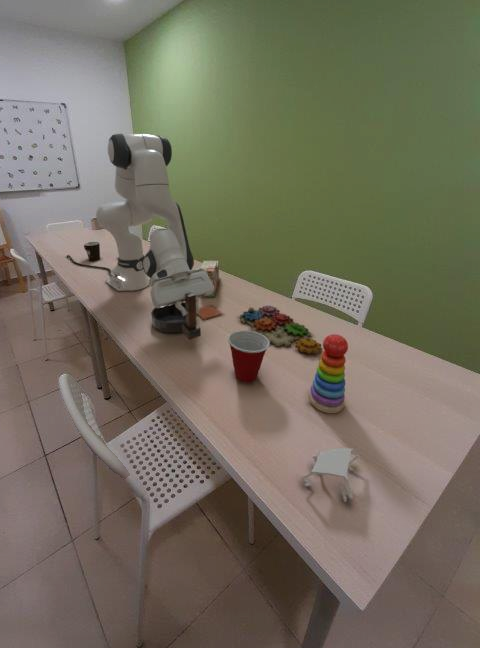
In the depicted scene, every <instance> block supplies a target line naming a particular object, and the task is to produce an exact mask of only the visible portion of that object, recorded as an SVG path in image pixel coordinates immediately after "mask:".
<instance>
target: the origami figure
mask: <svg viewBox="0 0 480 648" xmlns="http://www.w3.org/2000/svg"><path fill="white" fill-rule="evenodd" d="M351 455H353V458H351ZM350 458H351V459H350ZM359 458H360V454H358V452H356V451H355V450H354V448H349V447H346V448H342V447H340V448H332V449H328V450H325V451H319V453H317V454H316V453H315V454H314V453H313V455H312V459H313V461H314V466H313V468H312V469H311V470H310V471H309V472H308V473H307V474H304V475H301V476H300V477H299V478H300V479H301V480H302V481H303V482H306V483H305V485H304V486H305V487H307V488H308V487H309V486H312V485H313V482H312V481H310V480H308V479H307V478H309V477H310V476H312V475H325V476H327V475H328V476H334V477H339V478H340V477H341V478H343V479H344V483H345V487H346V488H345V487H344V486H340V491H341V492H340V493H341V495H342V499H343V502H345V503H347V500H348V498H347V496H348V497H349V498H350V499H351V500H353V499H354V493H353V490H352V487H351V485H350V482H349V479H348V471H351V472H354V468H353V467H352V466H351V464H352V463H353V462H356V461H357V460H358V459H359Z"/></svg>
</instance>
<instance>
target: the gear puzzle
mask: <svg viewBox="0 0 480 648" xmlns="http://www.w3.org/2000/svg"><path fill="white" fill-rule="evenodd" d="M239 318H240V322H241V323H242V324H245V323H246V324H248V326H251V331H254V332H257V333H260V334H262V335H264V336H265V337H267V339H268V340H269V342H270V344H273V345H274V346H275V347H280V346H281V347H282V346H284V347H289V346H291V345H292V343H293V342H294V344H295V345H294V348H295V349H299V352H302V353H303V352H305V353H306V354H307V355H310V354H317V355H318V352H322V351H323V347H322V343H319V342H317V340H316V339H313V338H309V337H310V336H311V335H312V333H311V332H310V331H309V329H308V328H307V327H305V324H299V323H298V322H294V319H293V318H291V316H290V315H287V314H284V313H280V309H278V308H277V307H275V306H273V305H263V306H262V307H259V308H258V309H257V310H256V309H254V307H252V306H250V307H249V308H248V310H247V311H243V313H242V314H240V315H239Z"/></svg>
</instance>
